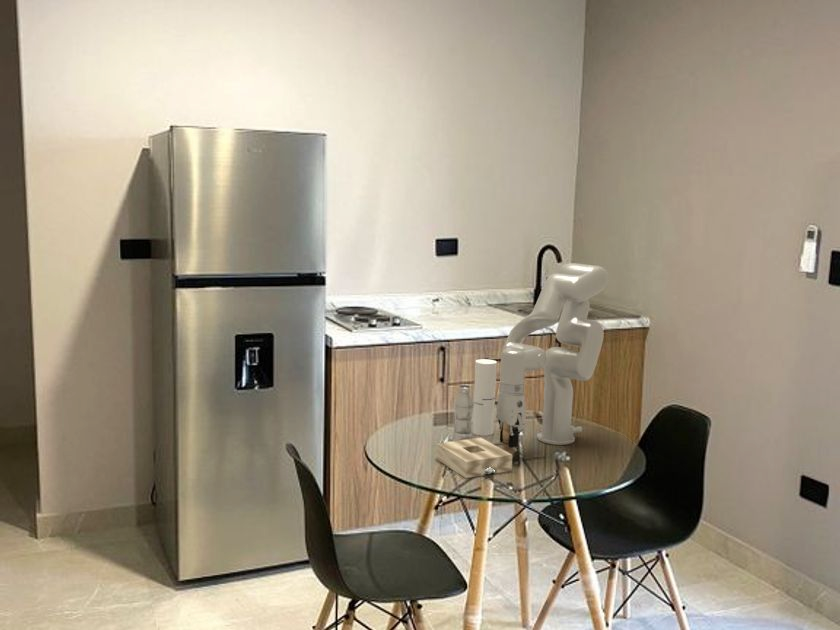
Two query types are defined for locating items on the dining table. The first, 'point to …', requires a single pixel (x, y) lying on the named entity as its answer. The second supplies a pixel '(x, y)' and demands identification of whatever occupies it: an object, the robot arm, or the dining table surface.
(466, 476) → the block
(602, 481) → the dining table surface
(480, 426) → the cylindrical container
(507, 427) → the peg
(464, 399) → the plastic bottle
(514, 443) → the robot arm
